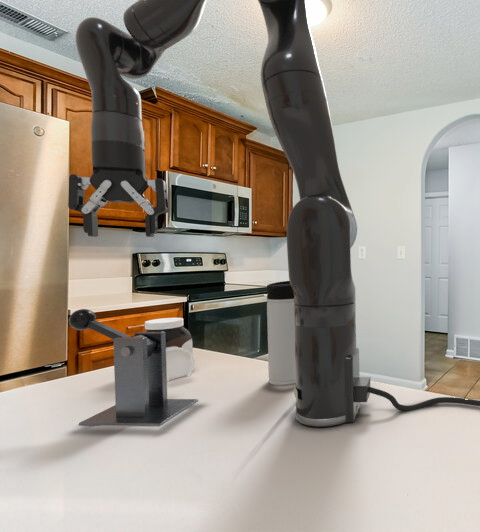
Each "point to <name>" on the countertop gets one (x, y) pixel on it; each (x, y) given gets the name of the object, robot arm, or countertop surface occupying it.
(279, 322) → the travel mug
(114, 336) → the tap lever
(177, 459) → the countertop surface
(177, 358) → the spread jar
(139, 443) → the countertop surface
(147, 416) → the bracket
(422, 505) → the countertop surface
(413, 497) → the countertop surface
